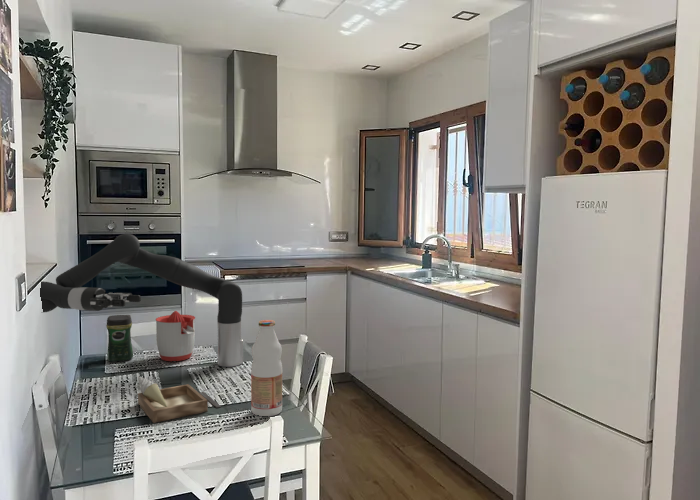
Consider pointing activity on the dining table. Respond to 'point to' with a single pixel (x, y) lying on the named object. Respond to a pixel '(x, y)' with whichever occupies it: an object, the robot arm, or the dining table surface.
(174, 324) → the citrus juicer
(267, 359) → the fruit juice
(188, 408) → the tray
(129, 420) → the dining table surface
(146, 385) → the ice cream cone
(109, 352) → the coffee jar
